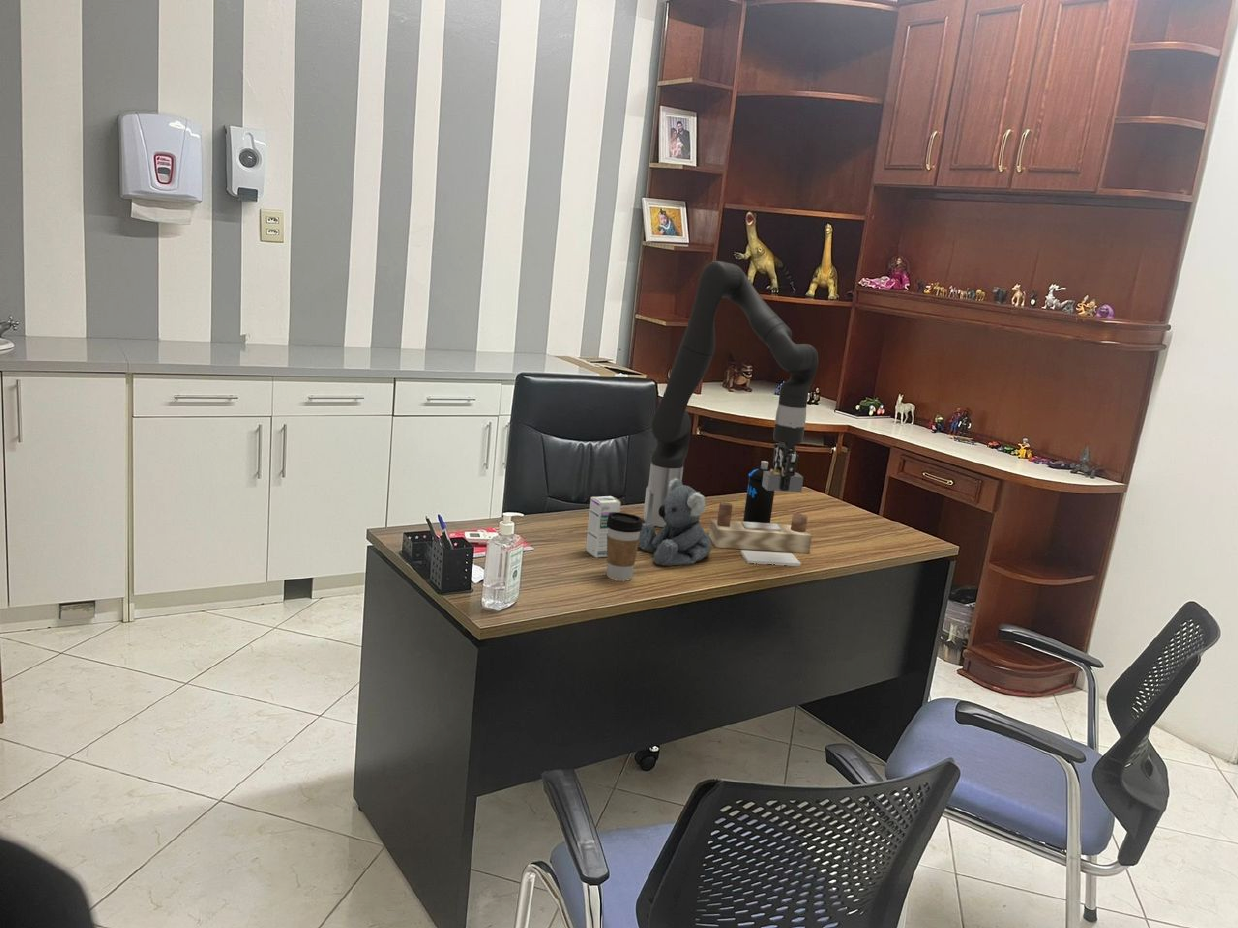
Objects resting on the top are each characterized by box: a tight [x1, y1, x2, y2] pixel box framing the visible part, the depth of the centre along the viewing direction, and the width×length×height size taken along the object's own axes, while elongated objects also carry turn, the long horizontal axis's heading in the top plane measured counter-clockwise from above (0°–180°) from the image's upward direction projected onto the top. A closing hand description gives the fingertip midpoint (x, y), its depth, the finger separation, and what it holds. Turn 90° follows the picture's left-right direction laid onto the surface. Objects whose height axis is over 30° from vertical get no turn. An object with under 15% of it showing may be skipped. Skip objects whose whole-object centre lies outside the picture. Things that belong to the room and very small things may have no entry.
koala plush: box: [638, 478, 712, 567], centre depth 243 cm, size 17×18×20 cm
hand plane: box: [708, 501, 813, 554], centre depth 260 cm, size 26×9×11 cm, turn 96°
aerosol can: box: [742, 460, 775, 523], centre depth 273 cm, size 8×8×20 cm
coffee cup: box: [606, 512, 643, 581], centre depth 224 cm, size 8×8×15 cm
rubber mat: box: [740, 549, 801, 567], centre depth 249 cm, size 14×8×1 cm, turn 96°
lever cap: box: [762, 468, 804, 493], centre depth 245 cm, size 9×5×5 cm, turn 97°
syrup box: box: [585, 495, 621, 559], centre depth 239 cm, size 6×6×14 cm
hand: (781, 487), depth 245 cm, fingers closed on lever cap, 5 cm apart
